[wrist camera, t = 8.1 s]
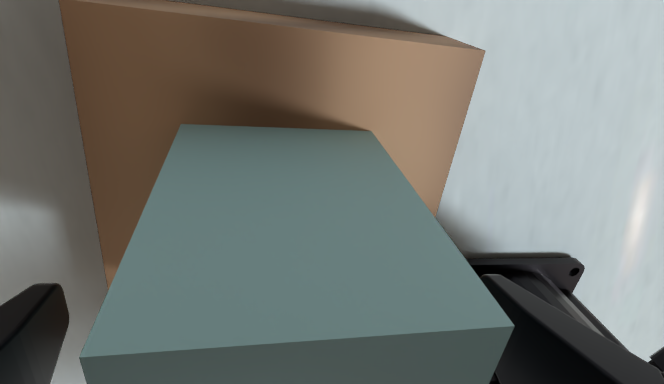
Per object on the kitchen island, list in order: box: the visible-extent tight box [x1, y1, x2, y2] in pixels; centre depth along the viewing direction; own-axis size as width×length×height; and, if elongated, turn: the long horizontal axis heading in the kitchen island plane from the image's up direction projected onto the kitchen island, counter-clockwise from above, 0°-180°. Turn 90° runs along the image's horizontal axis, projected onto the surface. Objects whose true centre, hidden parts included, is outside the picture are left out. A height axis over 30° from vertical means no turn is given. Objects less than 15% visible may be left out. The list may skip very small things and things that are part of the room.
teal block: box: [79, 124, 514, 384], centre depth 9 cm, size 5×5×7 cm
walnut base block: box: [59, 0, 485, 290], centre depth 13 cm, size 10×10×3 cm
